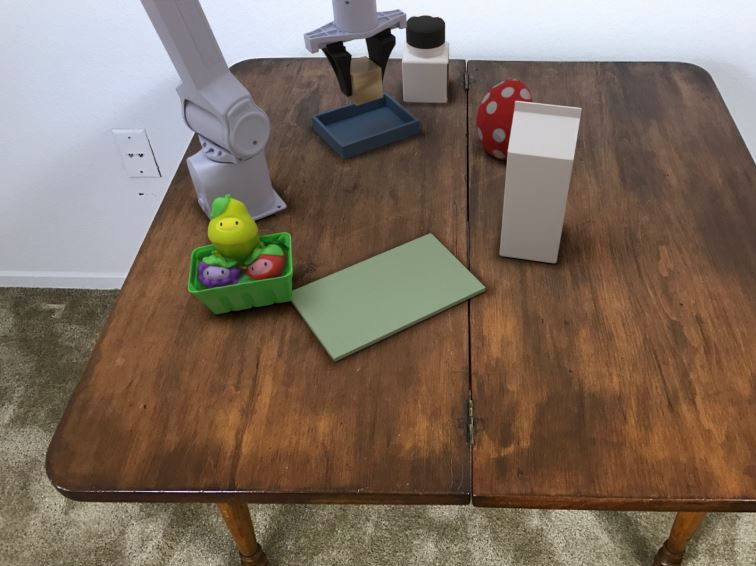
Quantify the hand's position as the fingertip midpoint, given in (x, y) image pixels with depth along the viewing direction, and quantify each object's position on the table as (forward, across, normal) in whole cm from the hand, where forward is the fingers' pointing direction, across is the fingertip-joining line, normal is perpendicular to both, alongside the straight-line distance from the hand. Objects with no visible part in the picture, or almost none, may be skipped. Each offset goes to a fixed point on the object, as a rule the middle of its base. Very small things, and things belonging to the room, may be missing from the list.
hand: (362, 88), depth 97 cm
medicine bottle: (+8, -14, -6) cm, 17 cm away
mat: (+8, +15, +31) cm, 35 cm away
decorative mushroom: (+8, -17, +16) cm, 25 cm away
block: (+1, 0, 0) cm, 1 cm away
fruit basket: (+8, +28, +22) cm, 36 cm away
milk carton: (+8, -5, +33) cm, 35 cm away
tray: (+8, 0, -1) cm, 8 cm away
